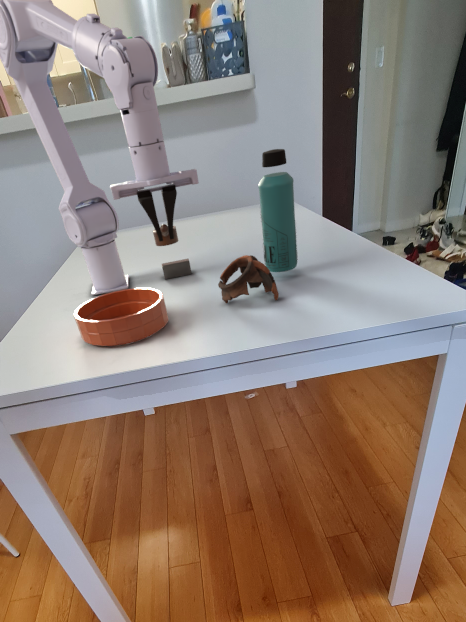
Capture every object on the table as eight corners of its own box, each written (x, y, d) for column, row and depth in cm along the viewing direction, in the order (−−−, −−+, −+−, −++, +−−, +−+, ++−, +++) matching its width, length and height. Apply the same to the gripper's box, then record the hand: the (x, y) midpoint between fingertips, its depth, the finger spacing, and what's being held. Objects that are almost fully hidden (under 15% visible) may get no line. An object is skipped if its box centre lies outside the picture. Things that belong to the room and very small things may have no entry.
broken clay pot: (283, 308, 78) (256, 270, 72) (238, 334, 83) (210, 300, 77) (282, 268, 84) (257, 230, 79) (240, 295, 89) (214, 261, 84)
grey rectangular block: (164, 277, 100) (161, 263, 99) (191, 271, 101) (188, 258, 99) (164, 279, 99) (161, 265, 97) (191, 274, 99) (189, 260, 97)
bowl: (87, 323, 85) (78, 298, 82) (167, 307, 85) (161, 282, 82) (79, 356, 73) (68, 328, 70) (171, 337, 74) (164, 309, 71)
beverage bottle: (304, 270, 90) (300, 144, 77) (288, 281, 86) (281, 151, 73) (275, 269, 93) (266, 147, 80) (259, 280, 90) (247, 154, 76)
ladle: (155, 242, 96) (148, 210, 92) (177, 238, 96) (171, 205, 92) (158, 264, 82) (149, 227, 78) (184, 259, 82) (177, 222, 78)
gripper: (100, 154, 69) (126, 252, 78) (193, 136, 70) (208, 235, 79) (102, 151, 75) (126, 243, 84) (189, 135, 75) (203, 228, 84)
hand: (166, 239), depth 82 cm, fingers closed on ladle
